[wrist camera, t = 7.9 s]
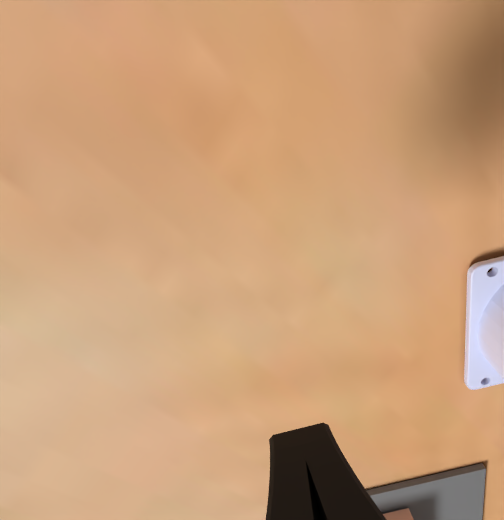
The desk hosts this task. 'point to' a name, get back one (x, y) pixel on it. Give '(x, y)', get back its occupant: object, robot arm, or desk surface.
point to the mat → (436, 495)
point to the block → (399, 515)
